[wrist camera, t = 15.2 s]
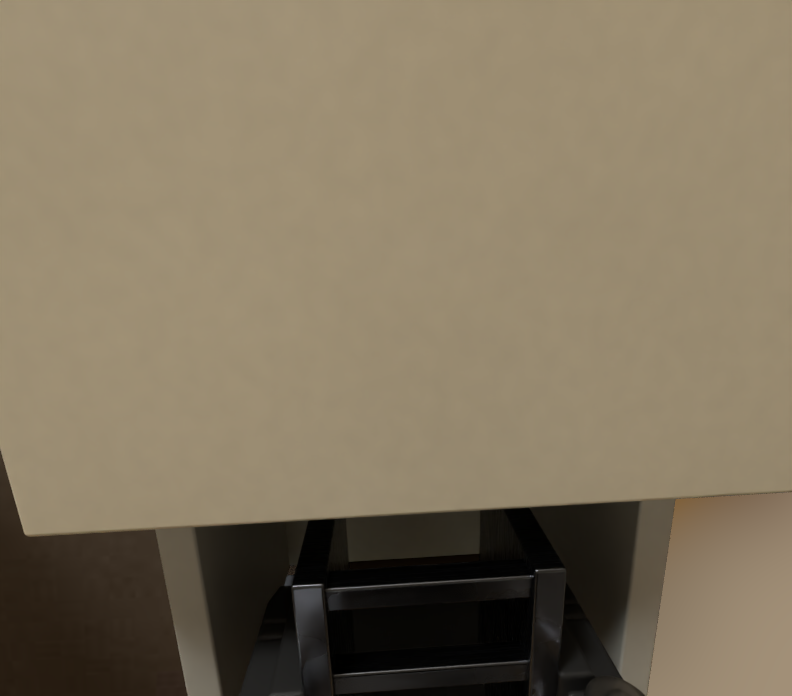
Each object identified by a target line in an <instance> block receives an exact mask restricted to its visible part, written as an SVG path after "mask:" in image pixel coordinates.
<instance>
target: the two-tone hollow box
mask: <svg viewBox="0 0 792 696" xmlns="http://www.w3.org/2000/svg"><path fill="white" fill-rule="evenodd" d="M674 505H675V499H664V500H647V501H630V502H613V503H596V504H579V505H562V506H545V507H529V508H530V510H531V511H532V513H533V515H534V516H535V518H536V520H537V521H538V523H539V525H540V526H541V528H542V530H543V531H544V533H545V535H546V536H547V538H548V540H549V541H550V543H551V545H552V546H553V548H554V550H555V551H556V553H557V555H558V556H559V558H560V560H561V561H562V563H563V565H564V566H565V568H566V583H567V584H568V585H569V587H570V589H571V591H572V592H573V594H574V596H575V597H576V599H577V602H578V604H580V606H581V608H582V610H583V611H584V613H585V615H586V618H587V619H588V620H589V622H590V623H591V625H592V627H593V629H594V630H595V632H596V634H597V635H598V637H599V639H600V641H601V642H602V644H603V646H604V648H605V649H606V651H607V653H608V654H609V656H610V658H611V660H612V661H613V663H614V665H615V667H616V668H617V670H618V672H619V673H620V675H621V677H622V678H623V680H625V681H627V682H629V683H630V684H632V685H634V686H635V687H636V688H638V689H639V690H640V691H641V692H642V693H643V694H644V695H645V696H647V691H648V684H649V678H650V671H651V663H652V657H653V650H654V643H655V636H656V629H657V623H658V616H659V609H660V602H661V595H662V588H663V581H664V574H665V567H666V560H667V553H668V547H669V539H670V532H671V526H672V519H673V512H674ZM307 524H308V520H306V521H289V522H272V523H255V524H238V525H221V526H204V527H187V528H170V529H155V531H156V536H157V541H158V546H159V551H160V556H161V561H162V566H163V572H164V577H165V582H166V587H167V592H168V597H169V602H170V607H171V612H172V617H173V622H174V628H175V633H176V638H177V643H178V648H179V653H180V658H181V663H182V668H183V673H184V678H185V684H186V689H187V694H188V696H239V694H240V691H241V688H242V684H243V681H244V678H245V675H246V672H247V668H248V665H249V662H250V659H251V655H252V652H253V649H254V646H255V643H256V641H257V636H258V633H259V630H260V626H261V625H262V620H263V617H264V614H265V610H266V607H267V604H268V602H269V601H270V599H271V598H272V597H273V595H274V594H275V593H276V591H277V590H278V589H279V587H280V586H292V582H293V578H294V575H288V576H287V574H288V571H289V567H290V566H292V565H297V563H298V559H299V555H300V551H301V547H302V543H303V539H304V536H305V532H306V528H307ZM346 526H347V540H348V555H349V562H355V561H371V560H387V559H403V558H419V557H435V556H451V555H466V554H479V545H480V510H477V511H460V512H443V513H426V514H409V515H392V516H374V517H357V518H346ZM478 607H479V601H472V602H457V603H442V604H427V605H412V606H397V607H383V608H368V609H353V610H352V612H353V626H354V640H355V652H363V651H377V650H391V649H405V648H419V647H433V646H447V645H461V644H475V643H478ZM355 696H486V694H485V690H484V686H483V684H475V685H462V686H448V687H435V688H422V689H409V690H395V691H382V692H369V693H356V695H355Z"/></svg>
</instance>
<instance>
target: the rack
mask: <svg viewBox="0 0 792 696" xmlns="http://www.w3.org/2000/svg"><path fill="white" fill-rule="evenodd" d="M565 583H566V568H565V566H564V565H563V563H562V561H561V560H560V558H559V556H558V555H557V553H556V551H555V550H554V548H553V546H552V545H551V543H550V541H549V540H548V538H547V536H546V535H545V533H544V531H543V530H542V528H541V526H540V525H539V523H538V521H537V520H536V518H535V516H534V515H533V513H532V511H531V510H530V508H529V507H528V508H511V509H494V510H480V545H479V561H477V562H461V563H445V564H430V565H414V566H398V567H382V568H367V569H351V570H350V569H349V555H348V540H347V526H346V518H340V519H323V520H308V524H307V528H306V532H305V536H304V539H303V543H302V547H301V551H300V555H299V559H298V563H297V567H296V571H295V574H294V578H293V582H292V586H291V591H292V600H293V609H294V618H295V627H296V636H297V645H298V654H299V663H300V673H301V682H302V690H303V693H304V696H355V695H356V693H369V692H382V691H395V690H409V689H422V688H435V687H448V686H462V685H475V684H483V686H484V690H485V694H486V696H557V689H558V676H559V664H560V650H561V637H562V624H563V610H564V597H565ZM472 601H479V607H478V643H475V644H461V645H447V646H433V647H419V648H405V649H391V650H377V651H363V652H355V640H354V626H353V612H352V610H353V609H368V608H383V607H397V606H412V605H427V604H442V603H457V602H472Z"/></svg>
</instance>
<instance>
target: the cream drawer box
mask: <svg viewBox="0 0 792 696" xmlns="http://www.w3.org/2000/svg"><path fill="white" fill-rule="evenodd" d="M0 449H1V453H2V457H3V460H4V464H5V467H6V471H7V474H8V478H9V481H10V485H11V488H12V492H13V495H14V499H15V502H16V506H17V509H18V513H19V516H20V520H21V523H22V527H23V531H24V534H25V535H26V536H29V537H34V536H51V535H68V534H85V533H102V532H119V531H136V530H153V529H170V528H187V527H204V526H221V525H238V524H255V523H272V522H289V521H306V520H323V519H340V518H357V517H374V516H392V515H409V514H426V513H443V512H460V511H477V510H494V509H511V508H528V507H545V506H562V505H579V504H596V503H613V502H630V501H647V500H664V499H681V498H698V497H714V496H732V495H749V494H765V493H766V494H767V493H783V492H792V0H0Z"/></svg>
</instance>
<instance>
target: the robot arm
mask: <svg viewBox="0 0 792 696" xmlns="http://www.w3.org/2000/svg"><path fill="white" fill-rule="evenodd" d="M239 696H304V693H303V690H302V682H301V673H300V663H299V654H298V645H297V636H296V627H295V618H294V609H293V600H292V591H291V586H280V587H279V589H278V590H277V591H276V593H275V594H274V595H273V597H272V598H271V599H270V601H269V602H268V604H267V607H266V610H265V614H264V617H263V620H262V625H261V626H260V630H259V633H258V636H257V641H256V643H255V646H254V649H253V652H252V655H251V659H250V662H249V665H248V668H247V672H246V675H245V678H244V681H243V684H242V688H241V691H240V694H239ZM557 696H645V695H644V694H643V693H642V692H641V691H640V690H639V689H638V688H636V687H635V686H634V685H632V684H630V683H629V682H627V681H625V680H623V678H622V677H621V675H620V673H619V672H618V670H617V668H616V667H615V665H614V663H613V661H612V660H611V658H610V656H609V654H608V653H607V651H606V649H605V648H604V646H603V644H602V642H601V641H600V639H599V637H598V635H597V634H596V632H595V630H594V629H593V627H592V625H591V623H590V622H589V620H588V619H587V618H586V615H585V613H584V611H583V610H582V608H581V606H580V604H578V602H577V599H576V597H575V596H574V594H573V592H572V591H571V589H570V587H569V585H568V584H567V583H565V597H564V610H563V624H562V637H561V650H560V664H559V676H558V689H557Z"/></svg>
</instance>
